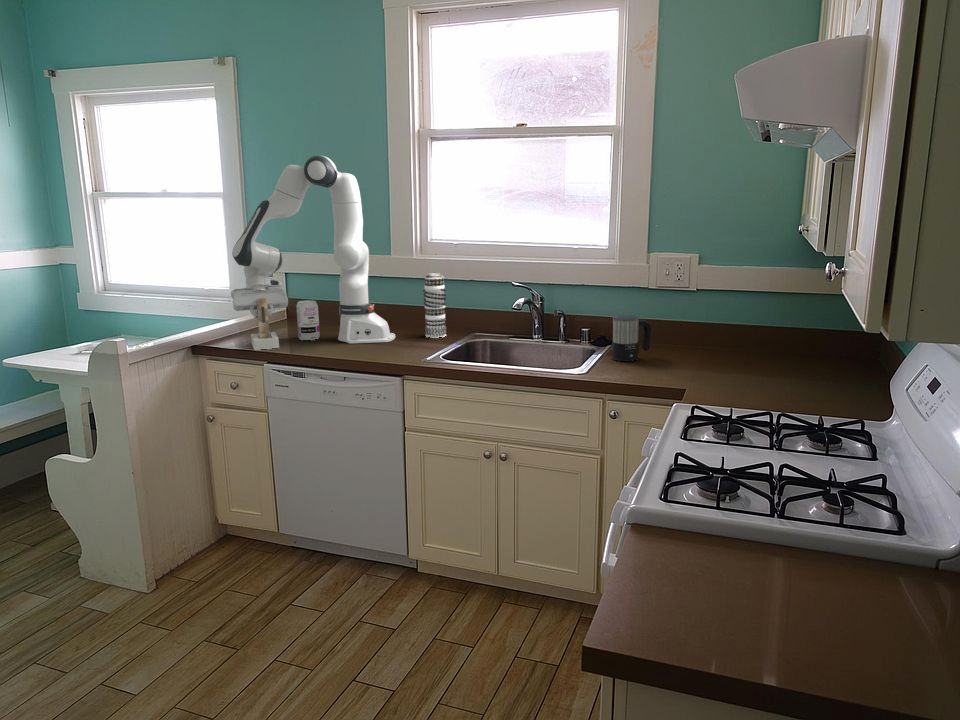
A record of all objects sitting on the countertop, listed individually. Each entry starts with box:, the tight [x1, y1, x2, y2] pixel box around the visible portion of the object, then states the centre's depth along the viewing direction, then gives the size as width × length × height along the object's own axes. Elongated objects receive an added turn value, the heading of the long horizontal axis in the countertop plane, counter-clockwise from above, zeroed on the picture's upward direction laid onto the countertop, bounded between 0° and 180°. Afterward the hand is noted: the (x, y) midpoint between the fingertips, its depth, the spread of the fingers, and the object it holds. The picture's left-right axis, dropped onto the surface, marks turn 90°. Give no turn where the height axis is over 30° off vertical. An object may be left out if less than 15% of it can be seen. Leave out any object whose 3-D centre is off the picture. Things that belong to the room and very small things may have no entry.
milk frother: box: [610, 314, 652, 362], centre depth 261 cm, size 14×16×15 cm
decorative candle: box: [422, 272, 447, 339], centre depth 300 cm, size 9×9×25 cm
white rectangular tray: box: [250, 331, 280, 351], centre depth 287 cm, size 12×9×4 cm
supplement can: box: [295, 299, 321, 341], centre depth 298 cm, size 8×8×15 cm
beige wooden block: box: [256, 298, 271, 339], centre depth 285 cm, size 4×5×15 cm
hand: (263, 316), depth 284 cm, fingers closed on beige wooden block, 3 cm apart
